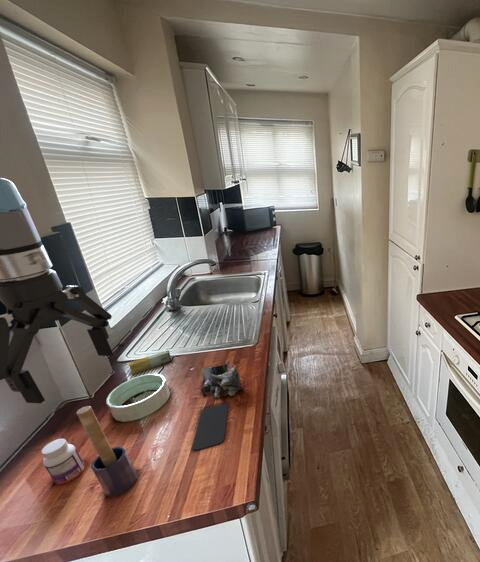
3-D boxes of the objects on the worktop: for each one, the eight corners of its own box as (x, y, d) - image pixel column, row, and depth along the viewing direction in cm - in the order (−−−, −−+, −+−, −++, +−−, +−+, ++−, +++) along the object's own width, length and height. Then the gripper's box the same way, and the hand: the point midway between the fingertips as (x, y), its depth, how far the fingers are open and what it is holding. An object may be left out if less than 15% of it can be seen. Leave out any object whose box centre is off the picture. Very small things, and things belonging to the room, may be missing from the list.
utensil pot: (99, 500, 67) (83, 472, 64) (118, 474, 73) (104, 447, 69) (127, 498, 67) (112, 469, 64) (144, 472, 73) (131, 445, 69)
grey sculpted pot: (240, 359, 108) (236, 359, 94) (244, 390, 106) (241, 395, 92) (202, 366, 103) (193, 368, 90) (206, 399, 102) (197, 406, 88)
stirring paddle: (114, 492, 68) (73, 417, 60) (111, 485, 69) (72, 412, 61) (131, 481, 70) (95, 407, 62) (128, 475, 71) (92, 402, 63)
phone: (228, 402, 92) (224, 442, 79) (229, 404, 92) (224, 444, 79) (201, 409, 90) (191, 451, 77) (202, 411, 90) (192, 453, 77)
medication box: (171, 359, 115) (168, 349, 113) (172, 361, 113) (169, 352, 111) (132, 372, 108) (128, 362, 106) (132, 375, 106) (128, 365, 104)
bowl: (101, 425, 86) (93, 409, 84) (134, 390, 99) (127, 375, 97) (153, 421, 87) (147, 405, 85) (179, 386, 100) (174, 372, 98)
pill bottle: (63, 469, 74) (45, 440, 71) (90, 461, 76) (74, 432, 72) (50, 490, 70) (30, 460, 66) (79, 481, 71) (62, 451, 68)
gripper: (-61, 309, 40) (17, 429, 48) (109, 252, 63) (142, 340, 71) (-109, 308, 41) (-25, 426, 49) (76, 252, 64) (113, 339, 72)
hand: (74, 375), depth 60 cm, fingers open, 13 cm apart
